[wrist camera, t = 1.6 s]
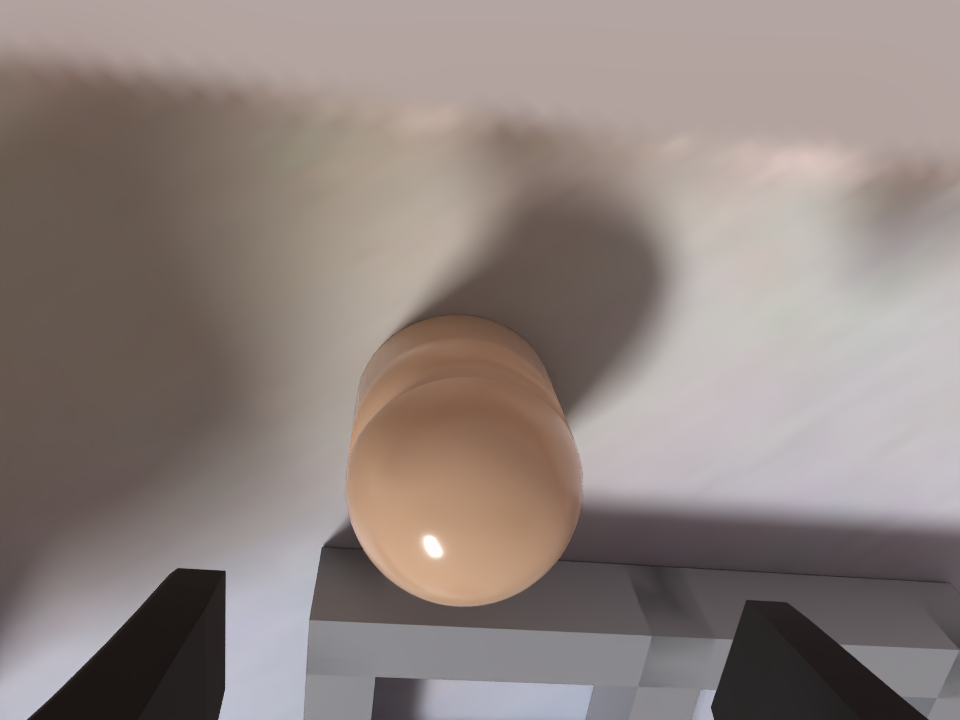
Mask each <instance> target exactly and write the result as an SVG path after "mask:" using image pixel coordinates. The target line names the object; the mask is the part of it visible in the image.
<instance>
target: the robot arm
mask: <svg viewBox="0 0 960 720" xmlns="http://www.w3.org/2000/svg"><path fill="white" fill-rule="evenodd" d="M225 589H226V571H218V570H200V569H182V568H177V569H176V570H175V571H173V572H172V573H171V574H169V575H168V576H167V578H166V579H165V580H164V581H163V582H162V583H161V584H160V585H159V587H158V588H157V589H156V590H155V591H154V592H153V593H152V594H151V595H150V597H149V598H148V599H147V600H146V601H145V602H144V603H143V604H142V605H141V607H140V608H139V609H138V610H137V611H136V612H135V613H134V614H133V615H132V616H131V617H130V618H129V620H128V621H127V622H126V623H125V624H124V625H123V626H122V627H121V628H120V629H119V630H118V631H117V632H116V633H115V634H114V635H113V636H112V637H111V639H110V640H109V641H108V642H107V643H106V644H105V645H104V646H103V647H102V648H101V649H100V650H99V651H98V652H97V653H96V654H95V655H94V656H93V657H92V658H91V659H90V660H89V661H88V662H87V663H86V664H85V665H84V666H83V667H82V668H81V669H80V670H79V671H78V672H77V673H76V674H75V675H74V676H73V677H72V678H71V679H70V680H69V681H68V682H67V683H66V684H65V685H64V686H63V687H62V688H61V689H60V690H59V691H58V692H57V693H55V694H54V695H53V696H52V697H51V698H50V699H49V700H48V701H47V702H46V703H45V704H44V705H43V706H42V707H40V708H39V709H38V710H37V711H36V712H35V713H34V714H33V715H32V716H31V717H29V718H28V719H27V720H218V718H219V714H220V709H221V705H222V700H223V696H224V691H225ZM711 709H712V713H713V717H714V720H929V719H927V718H926V717H925V716H924V715H922V714H921V713H920V712H919V711H918V710H916V709H915V708H914V707H913V706H912V705H910V704H909V703H908V702H907V701H906V700H904V699H903V698H902V697H901V696H900V695H898V694H897V693H896V692H895V691H894V690H892V689H891V688H890V687H889V686H888V685H886V684H885V683H884V682H883V681H882V680H881V679H879V678H878V677H877V676H876V675H875V674H873V673H872V672H871V671H870V670H869V669H868V668H866V667H865V666H864V665H863V664H862V663H861V662H859V661H858V660H857V659H856V658H855V657H853V656H852V655H851V654H850V653H849V652H848V651H846V650H845V649H844V648H843V647H842V646H841V645H839V644H838V643H837V642H836V641H835V640H833V639H832V638H831V637H830V636H829V635H827V634H826V633H825V632H824V631H823V630H821V629H820V628H819V627H818V626H817V625H815V624H814V623H813V622H812V621H811V620H809V619H808V618H807V617H806V616H804V615H803V614H802V613H801V612H799V611H798V610H797V609H795V608H794V607H793V606H791V605H790V604H789V603H787V602H776V601H758V600H746V602H745V605H744V608H743V611H742V614H741V617H740V620H739V623H738V626H737V629H736V633H735V636H734V639H733V642H732V645H731V648H730V651H729V654H728V657H727V660H726V663H725V666H724V669H723V672H722V675H721V678H720V681H719V684H718V687H717V690H716V693H715V696H714V699H713V703H712V706H711Z"/></svg>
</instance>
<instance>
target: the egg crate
mask: <svg viewBox="0 0 960 720" xmlns="http://www.w3.org/2000/svg"><path fill="white" fill-rule="evenodd" d="M746 600H758V601H776V602H787V603H789V604H790V605H791V606H793V607H794V608H795V609H797V610H798V611H799V612H801V613H802V614H803V615H804V616H806V617H807V618H808V619H809V620H811V621H812V622H813V623H814V624H815V625H817V626H818V627H819V628H820V629H821V630H823V631H824V632H825V633H826V634H827V635H829V636H830V637H831V638H832V639H833V640H835V641H836V642H837V643H838V644H839V645H841V646H842V647H843V648H844V649H845V650H846V651H848V652H849V653H850V654H851V655H852V656H853V657H855V658H856V659H857V660H858V661H859V662H861V663H862V664H863V665H864V666H865V667H866V668H868V669H869V670H870V671H871V672H872V673H873V674H875V675H876V676H877V677H878V678H879V679H881V680H882V681H883V682H884V683H885V684H886V685H888V686H889V687H890V688H891V689H892V690H894V691H895V692H896V693H897V694H898V695H900V696H901V697H902V698H903V699H904V700H906V701H907V702H908V703H909V704H910V705H912V706H913V707H914V708H915V709H916V710H918V711H919V712H920V713H921V714H922V715H924V716H925V717H926V718H927V719H929V720H960V593H959V592H958V591H957V590H956V589H955V588H954V587H953V586H952V585H951V584H950V583H936V582H918V581H901V580H884V579H866V578H849V577H832V576H814V575H797V574H780V573H762V572H745V571H728V570H710V569H693V568H676V567H658V566H641V565H624V564H606V563H589V562H572V561H557V562H556V563H555V564H554V566H553V567H552V568H551V569H550V570H549V571H548V572H547V573H546V574H545V575H544V576H543V577H542V578H541V579H540V580H538V581H537V582H536V583H534V584H533V585H532V586H530V587H529V588H527V589H525V590H524V591H522V592H520V593H519V594H516V595H514V596H512V597H510V598H507V599H504V600H501V601H498V602H495V603H491V604H486V605H480V606H471V607H457V606H447V605H441V604H436V603H432V602H429V601H426V600H423V599H421V598H418V597H416V596H414V595H412V594H410V593H408V592H406V591H405V590H403V589H402V588H400V587H398V586H397V585H395V584H394V583H393V582H391V581H390V580H389V579H388V578H386V577H385V576H384V575H383V574H382V573H381V572H380V570H379V569H378V568H377V567H376V566H375V565H374V564H373V563H372V562H371V560H370V559H369V558H368V556H367V555H366V553H365V552H364V550H363V549H346V548H329V547H322V550H321V556H320V562H319V567H318V573H317V579H316V585H315V590H314V596H313V602H312V607H311V613H310V619H309V633H308V651H307V668H306V685H305V703H304V720H371V715H372V705H373V696H374V686H375V677H389V678H415V679H442V680H469V681H495V682H522V683H549V684H575V685H594V688H593V692H592V696H591V700H590V704H589V708H588V712H587V716H586V720H691V717H692V714H693V711H694V707H695V704H696V701H697V698H698V695H699V692H700V689H709V690H717V687H718V684H719V681H720V678H721V675H722V672H723V669H724V666H725V663H726V660H727V657H728V654H729V651H730V648H731V645H732V642H733V639H734V636H735V633H736V629H737V626H738V623H739V620H740V617H741V614H742V611H743V608H744V605H745V602H746Z"/></svg>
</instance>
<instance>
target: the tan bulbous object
mask: <svg viewBox="0 0 960 720" xmlns="http://www.w3.org/2000/svg"><path fill="white" fill-rule="evenodd" d="M582 498H583V473H582V467H581V461H580V457H579V453H578V450H577V447H576V444H575V441H574V438H573V436H572V433H571V431H570V428H569V426H568V423H567V421H566V418H565V416H564V413H563V411H562V408H561V406H560V403H559V401H558V398H557V396H556V393H555V391H554V388H553V386H552V383H551V381H550V378H549V376H548V373H547V371H546V369H545V367H544V365H543V363H542V361H541V359H540V357H539V356H538V355H537V353H536V352H535V350H534V349H533V348H532V347H531V346H530V345H529V344H528V343H527V341H526V340H524V339H523V338H522V337H521V336H519V335H518V334H517V333H516V332H514V331H512V330H511V329H509V328H507V327H506V326H504V325H501V324H499V323H497V322H495V321H492V320H489V319H485V318H482V317H476V316H470V315H445V316H438V317H433V318H428V319H425V320H422V321H420V322H417V323H414V324H412V325H410V326H408V327H406V328H404V329H402V330H401V331H399V332H398V333H396V334H395V335H393V336H392V337H391V338H390V339H388V340H387V341H386V342H385V343H384V344H383V345H382V346H381V347H380V348H379V349H378V350H377V352H376V353H375V354H374V355H373V357H372V358H371V360H370V361H369V363H368V364H367V366H366V368H365V370H364V373H363V375H362V377H361V381H360V384H359V387H358V394H357V401H356V408H355V415H354V423H353V430H352V437H351V444H350V452H349V459H348V466H347V473H346V500H347V507H348V512H349V516H350V520H351V523H352V527H353V530H354V532H355V534H356V536H357V538H358V540H359V542H360V544H361V546H362V548H363V550H364V552H365V553H366V555H367V556H368V558H369V559H370V560H371V562H372V563H373V564H374V565H375V566H376V567H377V568H378V569H379V570H380V572H381V573H382V574H383V575H384V576H385V577H386V578H388V579H389V580H390V581H391V582H393V583H394V584H395V585H397V586H398V587H400V588H402V589H403V590H405V591H406V592H408V593H410V594H412V595H414V596H416V597H418V598H421V599H423V600H426V601H429V602H432V603H436V604H441V605H447V606H457V607H471V606H480V605H486V604H491V603H495V602H498V601H501V600H504V599H507V598H510V597H512V596H514V595H516V594H519V593H520V592H522V591H524V590H525V589H527V588H529V587H530V586H532V585H533V584H534V583H536V582H537V581H538V580H540V579H541V578H542V577H543V576H544V575H545V574H546V573H547V572H548V571H549V570H550V569H551V568H552V567H553V566H554V564H555V563H556V562H557V561H558V560H559V558H560V557H561V556H562V554H563V552H564V551H565V549H566V548H567V546H568V544H569V542H570V540H571V538H572V536H573V533H574V531H575V529H576V526H577V522H578V519H579V515H580V511H581V506H582Z"/></svg>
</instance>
